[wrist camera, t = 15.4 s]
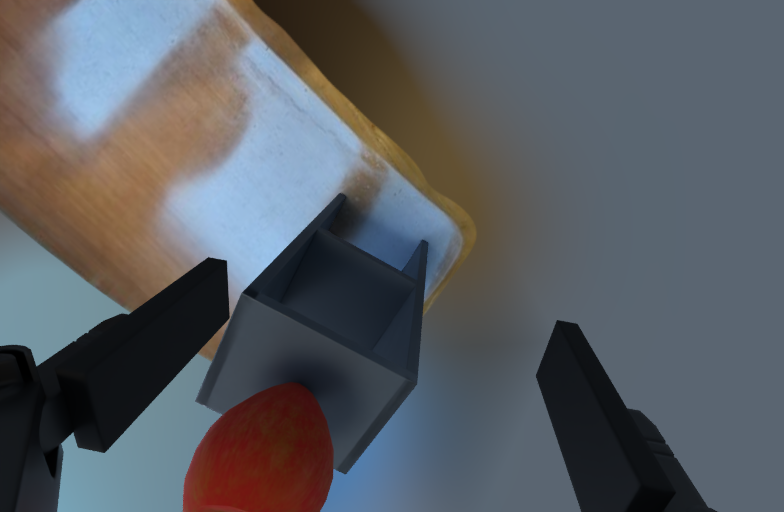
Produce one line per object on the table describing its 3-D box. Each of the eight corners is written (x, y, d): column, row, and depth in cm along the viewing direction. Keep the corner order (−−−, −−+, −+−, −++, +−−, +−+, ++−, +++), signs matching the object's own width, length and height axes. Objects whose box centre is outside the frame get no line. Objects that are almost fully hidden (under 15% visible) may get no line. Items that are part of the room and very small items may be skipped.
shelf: (340, 192, 51) (241, 292, 26) (428, 242, 53) (417, 384, 27) (305, 260, 56) (194, 401, 31) (387, 305, 58) (345, 474, 32)
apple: (346, 444, 31) (302, 611, 21) (245, 422, 31) (155, 576, 21) (360, 362, 27) (314, 517, 17) (246, 338, 27) (137, 476, 18)
